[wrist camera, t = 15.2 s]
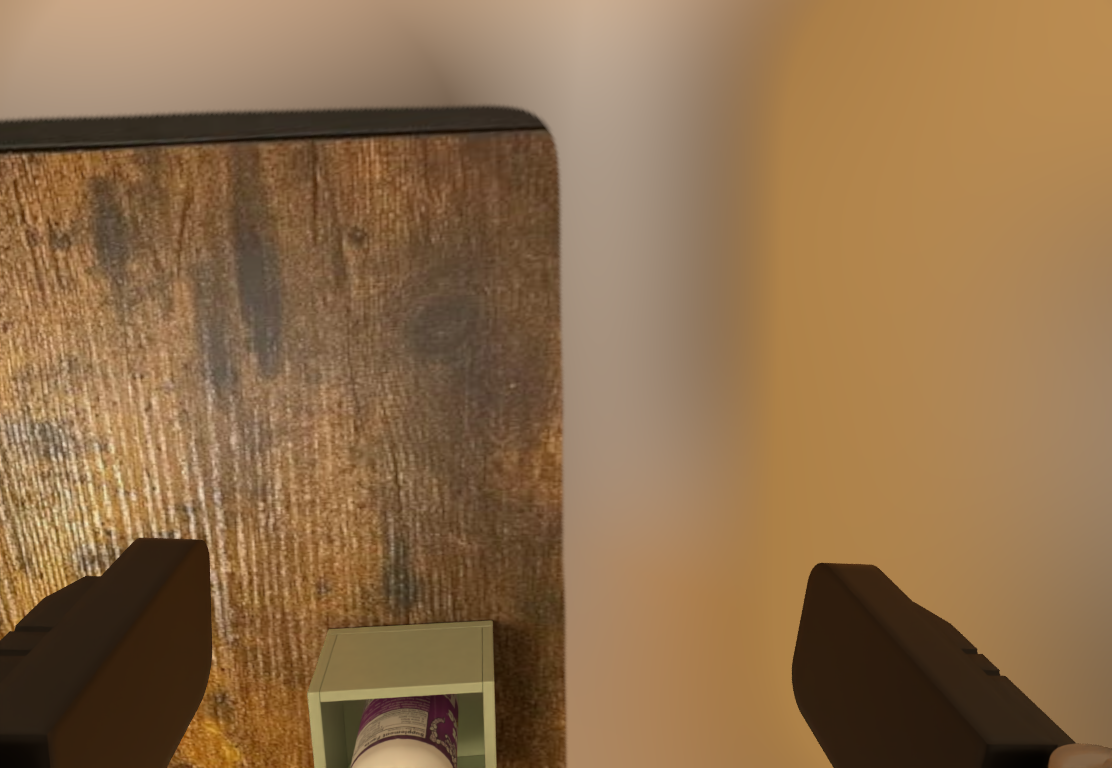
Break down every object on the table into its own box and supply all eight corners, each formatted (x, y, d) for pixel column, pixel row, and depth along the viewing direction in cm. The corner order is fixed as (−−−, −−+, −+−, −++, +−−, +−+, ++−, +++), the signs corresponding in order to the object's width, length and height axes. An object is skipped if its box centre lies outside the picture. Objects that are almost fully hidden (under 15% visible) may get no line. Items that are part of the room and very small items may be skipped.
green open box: (340, 765, 46) (321, 844, 40) (328, 628, 43) (306, 693, 38) (495, 754, 46) (498, 830, 41) (492, 619, 44) (494, 681, 39)
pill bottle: (466, 731, 45) (463, 874, 36) (375, 747, 45) (348, 896, 35) (451, 651, 44) (443, 780, 34) (357, 668, 43) (324, 801, 34)
